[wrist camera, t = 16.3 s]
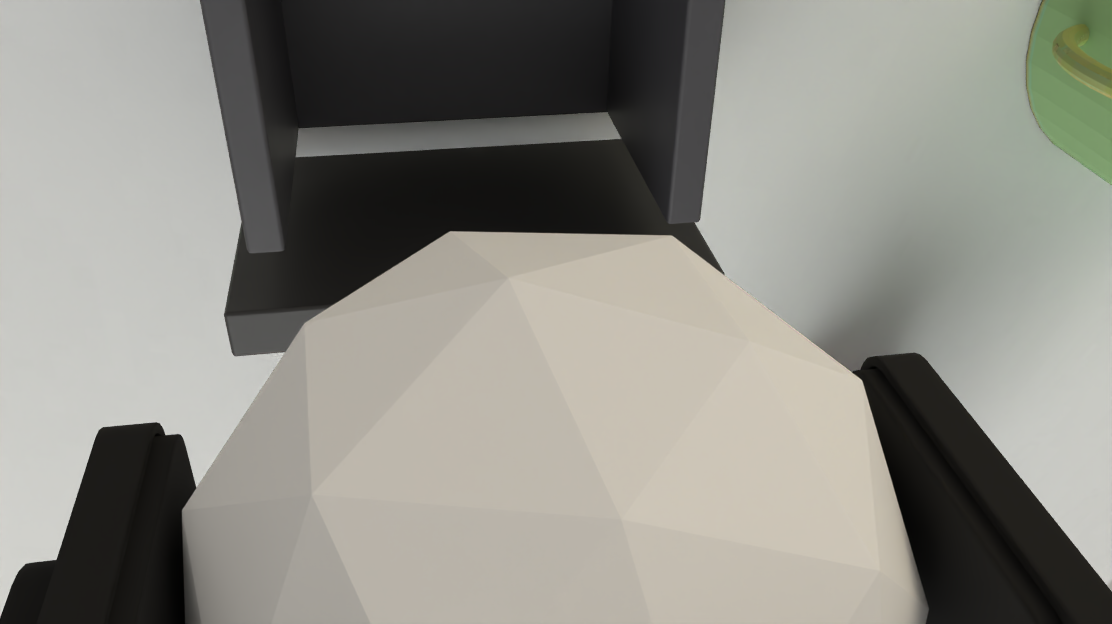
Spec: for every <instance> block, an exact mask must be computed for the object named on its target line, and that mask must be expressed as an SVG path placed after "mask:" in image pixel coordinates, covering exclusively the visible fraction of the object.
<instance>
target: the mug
mask: <svg viewBox="0 0 1112 624" xmlns="http://www.w3.org/2000/svg"><path fill="white" fill-rule="evenodd" d="M1026 87H1027V92H1028V97H1029V102H1030V107H1031V110H1032V112H1033V114H1034V116H1035V118H1036V121H1037V123H1038V125H1039V127H1040V128H1041V130H1042V131H1043V132H1044V133H1045V135H1046V136H1047V137H1048V138H1049V139H1050V141H1051V142H1052V143H1053V144H1055V145H1056V146H1057V147H1059V148H1060V149H1062V150H1063V151H1064V152H1066V153H1067V154H1069V155H1070V156H1071V157H1073V158H1074V159H1075V160H1077V161H1078V162H1080V163H1081V164H1082V165H1084V166H1085V167H1087V168H1088V169H1089V170H1091V171H1092V172H1094V173H1095V174H1096V175H1098V176H1099V177H1101V178H1102V179H1103V180H1105V181H1106V182H1108V183H1109V184H1110V185H1112V0H1043V1H1042V3H1041V6H1040V9H1039V12H1038V15H1037V18H1036V20H1035V23H1034V26H1033V29H1032V32H1031V37H1030V43H1029V48H1028V53H1027V59H1026Z"/></svg>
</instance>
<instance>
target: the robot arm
mask: <svg viewBox="0 0 1112 624" xmlns="http://www.w3.org/2000/svg"><path fill="white" fill-rule="evenodd" d="M852 373H853V374H855V375H856V376H857V377H859V378H860V379H861V380H862V382H863V385H864V388H865V392H866V395H867V399H868V402H869V406H870V409H871V412H872V416H873V419H874V423H875V426H876V429H877V433H878V436H879V440H880V443H881V446H882V450H883V453H884V457H885V460H886V464H887V467H888V470H889V474H890V477H891V481H892V484H893V487H894V491H895V494H896V498H897V501H898V505H899V508H900V511H901V515H902V518H903V522H904V525H905V528H906V532H907V535H908V539H909V542H910V545H911V549H912V552H913V556H914V559H915V563H916V566H917V569H918V573H919V576H920V580H921V583H922V586H923V590H924V593H925V597H926V600H927V604H928V607H929V611H928V616H927V620H926V624H1112V592H1111V590H1110V589H1109V588H1108V586H1107V585H1106V584H1105V583H1104V581H1103V580H1102V579H1101V578H1100V576H1099V575H1098V574H1097V573H1096V571H1095V570H1094V569H1093V568H1092V566H1091V565H1090V564H1089V563H1088V561H1087V560H1086V559H1085V558H1084V556H1083V555H1082V554H1081V553H1080V551H1079V550H1078V549H1077V548H1076V546H1075V545H1074V544H1073V543H1072V541H1071V540H1070V539H1069V538H1068V536H1067V535H1066V534H1065V533H1064V531H1063V530H1062V529H1061V528H1060V526H1059V525H1058V524H1057V523H1056V521H1055V520H1054V519H1053V518H1052V516H1051V515H1050V514H1049V513H1048V511H1047V510H1046V509H1045V508H1044V506H1043V505H1042V504H1041V503H1040V501H1039V500H1038V499H1037V498H1036V496H1035V495H1034V494H1033V493H1032V491H1031V490H1030V489H1029V488H1028V486H1027V485H1026V484H1025V483H1024V481H1023V480H1022V479H1021V478H1020V476H1019V475H1018V474H1017V473H1016V471H1015V470H1014V469H1013V468H1012V466H1011V465H1010V464H1009V463H1008V461H1007V460H1006V459H1005V458H1004V456H1003V455H1002V454H1001V453H1000V451H999V450H998V449H997V448H996V446H995V445H994V444H993V443H992V441H991V440H990V439H989V438H988V436H987V435H986V434H985V433H984V431H983V430H982V429H981V428H980V426H979V425H978V424H977V423H976V421H975V420H974V419H973V418H972V416H971V415H970V414H969V413H968V411H967V410H966V409H965V408H964V406H963V405H962V404H961V403H960V401H959V400H958V399H957V398H956V396H955V395H954V394H953V393H952V391H951V390H950V389H949V388H948V386H947V385H946V384H945V383H944V381H943V380H942V379H941V378H940V376H939V375H938V374H937V373H936V371H935V370H934V369H933V368H932V366H931V365H930V364H929V363H928V361H927V360H926V359H925V358H924V357H922V356H921V355H920V354H917V353H906V354H895V355H884V356H873V357H870V358H867V359H866V360H865V362H864V363H863V365H862V367H861V370H856V371H853V372H852ZM195 490H196V485H195V481H194V477H193V473H192V470H191V466H190V462H189V458H188V454H187V450H186V446H185V443H184V440H183V438H182V436H181V435H180V434H175V435H165V433H164V430H163V428H162V426H161V425H160V423H157V422H156V423H145V424H134V425H123V426H112V427H102V428H101V429H100V430H99V431H98V433H97V436H96V438H95V441H94V444H93V447H92V450H91V454H90V457H89V460H88V463H87V466H86V469H85V472H84V476H83V479H82V482H81V485H80V488H79V491H78V494H77V498H76V501H75V504H74V507H73V510H72V513H71V516H70V520H69V523H68V526H67V529H66V532H65V535H64V539H63V542H62V545H61V548H60V551H59V554H58V557H57V560H52V561H43V562H34V563H28V564H25V565H24V566H23V567H22V568H21V570H20V571H19V572H18V574H17V576H16V578H15V580H14V582H13V584H12V586H11V589H10V592H9V595H8V598H7V600H6V603H5V606H4V609H3V612H2V614H1V617H0V624H185V604H184V570H183V535H182V510H183V508H184V507H185V505H186V503H187V502H188V500H189V499H190V497H191V496H192V494H193V493H194V491H195Z"/></svg>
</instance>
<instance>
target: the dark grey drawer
mask: <svg viewBox="0 0 1112 624" xmlns="http://www.w3.org/2000/svg"><path fill="white" fill-rule="evenodd" d="M200 3H201V8H202V14H203V19H204V24H205V30H206V35H207V40H208V45H209V51H210V56H211V61H212V67H213V72H214V77H215V83H216V88H217V93H218V99H219V104H220V109H221V114H222V120H223V125H224V130H225V136H226V141H227V146H228V152H229V157H230V162H231V168H232V173H233V178H234V183H235V189H236V194H237V199H238V205H239V210H240V215H241V221H242V223H241V228H240V233H239V239H238V244H237V249H236V255H235V260H234V265H233V271H232V276H231V281H230V286H229V292H228V297H227V302H226V308H225V313H224V317H225V322H226V327H227V331H228V336H229V341H230V345H231V350H232V353H233V355H234V356H244V355H256V354H268V353H279V352H286V351H287V349H288V347H289V346H290V344H291V343H292V341H293V340H294V338H295V337H296V335H297V334H298V332H299V331H300V329H301V328H302V326H303V325H304V323H305V322H307V321H309V320H310V319H312V318H313V317H315V316H317V315H318V314H320V313H321V312H323V311H324V310H326V309H328V308H329V307H331V306H332V305H334V304H336V303H337V302H339V301H340V300H342V299H343V298H345V297H347V296H348V295H350V294H351V293H353V292H355V291H356V290H358V289H359V288H361V287H363V286H364V285H366V284H367V283H369V282H370V281H372V280H374V279H375V278H377V277H378V276H380V275H382V274H383V273H385V272H386V271H388V270H389V269H391V268H393V267H394V266H396V265H397V264H399V263H401V262H402V261H404V260H405V259H407V258H409V257H410V256H412V255H413V254H415V253H416V252H418V251H420V250H421V249H423V248H424V247H426V246H428V245H429V244H431V243H432V242H434V241H435V240H437V239H439V238H440V237H442V236H443V235H445V234H447V233H448V232H450V231H457V232H511V233H564V234H618V235H671V236H673V237H675V238H676V239H677V240H679V241H680V242H681V243H682V244H684V245H685V246H686V247H688V248H689V249H690V250H692V251H693V252H694V253H696V254H697V255H698V256H700V257H701V258H702V259H703V260H705V261H706V262H707V263H709V264H710V265H711V266H713V267H714V268H715V269H717V270H718V271H719V272H721V273H722V274H723V275H725V274H724V272H723V270H722V269H721V267H720V265H719V264H718V262H717V260H716V259H715V257H714V255H713V253H712V252H711V250H710V248H709V247H708V245H707V243H706V242H705V240H704V238H703V236H702V235H701V233H700V231H699V230H698V228H697V226H696V225H695V223H694V222H698V221H699V220H700V215H701V207H702V198H703V189H704V181H705V172H706V164H707V155H708V146H709V138H710V129H711V120H712V112H713V103H714V95H715V86H716V77H717V69H718V60H719V51H720V43H721V34H722V26H723V17H724V8H725V0H200ZM597 112H608V114H609V116H610V118H611V120H612V122H613V124H614V125H615V127H616V129H617V131H618V133H619V135H620V137H621V138H622V139H614V140H596V141H579V142H561V143H543V144H526V145H508V146H490V147H473V148H455V149H438V150H420V151H402V152H385V153H367V154H349V155H332V156H314V157H296V158H295V156H296V147H297V138H298V128H310V127H329V126H348V125H367V124H386V123H405V122H425V121H444V120H463V119H482V118H501V117H520V116H540V115H559V114H578V113H597Z"/></svg>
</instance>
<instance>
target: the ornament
mask: <svg viewBox="0 0 1112 624" xmlns="http://www.w3.org/2000/svg"><path fill="white" fill-rule="evenodd" d="M182 535H183V570H184V604H185V624H926V620H927V616H928V611H929V607H928V604H927V600H926V597H925V593H924V590H923V586H922V583H921V580H920V576H919V573H918V569H917V566H916V563H915V559H914V556H913V552H912V549H911V545H910V542H909V539H908V535H907V532H906V528H905V525H904V522H903V518H902V515H901V511H900V508H899V505H898V501H897V498H896V494H895V491H894V487H893V484H892V481H891V477H890V474H889V470H888V467H887V464H886V460H885V457H884V453H883V450H882V446H881V443H880V440H879V436H878V433H877V429H876V426H875V423H874V419H873V416H872V412H871V409H870V406H869V402H868V399H867V395H866V392H865V388H864V385H863V382H862V380H861V379H860V378H859V377H857V376H856V375H855V374H853V373H852V372H851V371H849V370H848V369H847V368H845V367H844V366H843V365H841V364H840V363H839V362H837V361H836V360H835V359H834V358H832V357H831V356H830V355H828V354H827V353H826V352H824V351H823V350H822V349H820V348H819V347H818V346H816V345H815V344H814V343H813V342H811V341H810V340H809V339H807V338H806V337H805V336H803V335H802V334H801V333H799V332H798V331H797V330H795V329H794V328H793V327H792V326H790V325H789V324H788V323H786V322H785V321H784V320H782V319H781V318H780V317H778V316H777V315H776V314H774V313H773V312H772V311H770V310H769V309H768V308H767V307H765V306H764V305H763V304H761V303H760V302H759V301H757V300H756V299H755V298H753V297H752V296H751V295H749V294H748V293H747V292H746V291H744V290H743V289H742V288H740V287H739V286H738V285H736V284H735V283H734V282H732V281H731V280H730V279H728V278H727V277H726V276H725V275H723V274H722V273H721V272H719V271H718V270H717V269H715V268H714V267H713V266H711V265H710V264H709V263H707V262H706V261H705V260H703V259H702V258H701V257H700V256H698V255H697V254H696V253H694V252H693V251H692V250H690V249H689V248H688V247H686V246H685V245H684V244H682V243H681V242H680V241H679V240H677V239H676V238H675V237H673V236H671V235H618V234H564V233H511V232H457V231H450V232H448V233H447V234H445V235H443V236H442V237H440V238H439V239H437V240H435V241H434V242H432V243H431V244H429V245H428V246H426V247H424V248H423V249H421V250H420V251H418V252H416V253H415V254H413V255H412V256H410V257H409V258H407V259H405V260H404V261H402V262H401V263H399V264H397V265H396V266H394V267H393V268H391V269H389V270H388V271H386V272H385V273H383V274H382V275H380V276H378V277H377V278H375V279H374V280H372V281H370V282H369V283H367V284H366V285H364V286H363V287H361V288H359V289H358V290H356V291H355V292H353V293H351V294H350V295H348V296H347V297H345V298H343V299H342V300H340V301H339V302H337V303H336V304H334V305H332V306H331V307H329V308H328V309H326V310H324V311H323V312H321V313H320V314H318V315H317V316H315V317H313V318H312V319H310V320H309V321H307V322H305V323H304V325H303V326H302V328H301V329H300V331H299V332H298V334H297V335H296V337H295V338H294V340H293V341H292V343H291V344H290V346H289V347H288V349H287V351H286V352H285V354H284V355H283V357H282V358H281V360H280V361H279V363H278V364H277V366H276V367H275V369H274V370H273V372H272V373H271V375H270V377H269V378H268V380H267V381H266V383H265V384H264V386H263V387H262V389H261V390H260V392H259V393H258V395H257V396H256V398H255V399H254V401H253V403H252V404H251V406H250V407H249V409H248V410H247V412H246V413H245V415H244V416H243V418H242V419H241V421H240V422H239V424H238V425H237V427H236V429H235V430H234V432H233V433H232V435H231V436H230V438H229V439H228V441H227V442H226V444H225V445H224V447H223V448H222V450H221V451H220V453H219V455H218V456H217V458H216V459H215V461H214V462H213V464H212V465H211V467H210V468H209V470H208V471H207V473H206V474H205V476H204V477H203V479H202V481H201V482H200V484H199V485H198V487H197V488H196V490H195V491H194V493H193V494H192V496H191V497H190V499H189V500H188V502H187V503H186V505H185V507H184V508H183V510H182Z"/></svg>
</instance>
